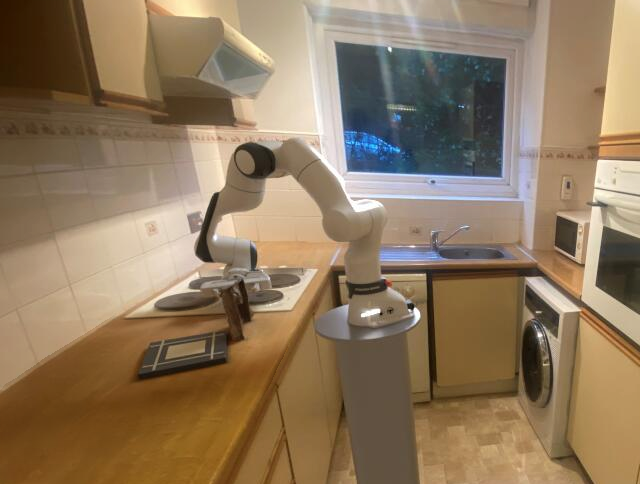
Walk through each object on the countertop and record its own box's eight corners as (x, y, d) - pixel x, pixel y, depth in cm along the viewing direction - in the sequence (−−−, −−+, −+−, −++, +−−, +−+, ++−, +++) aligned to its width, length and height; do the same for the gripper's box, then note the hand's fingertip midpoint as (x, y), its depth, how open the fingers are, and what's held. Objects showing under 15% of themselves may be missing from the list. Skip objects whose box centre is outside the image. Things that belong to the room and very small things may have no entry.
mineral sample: (244, 340, 125) (231, 290, 120) (228, 342, 124) (214, 292, 118) (256, 318, 140) (245, 273, 134) (242, 320, 139) (230, 274, 133)
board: (227, 334, 129) (226, 329, 128) (226, 362, 113) (225, 356, 112) (151, 347, 120) (149, 341, 120) (139, 379, 105) (137, 373, 104)
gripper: (198, 276, 144) (195, 288, 133) (267, 268, 154) (270, 279, 143) (203, 294, 147) (201, 307, 136) (271, 285, 156) (274, 296, 145)
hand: (237, 292), depth 140 cm, fingers open, 8 cm apart
